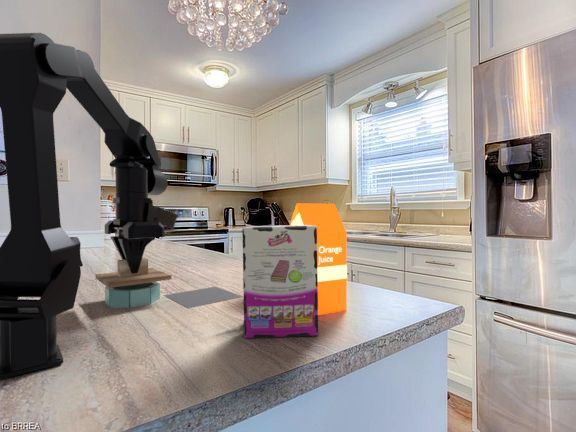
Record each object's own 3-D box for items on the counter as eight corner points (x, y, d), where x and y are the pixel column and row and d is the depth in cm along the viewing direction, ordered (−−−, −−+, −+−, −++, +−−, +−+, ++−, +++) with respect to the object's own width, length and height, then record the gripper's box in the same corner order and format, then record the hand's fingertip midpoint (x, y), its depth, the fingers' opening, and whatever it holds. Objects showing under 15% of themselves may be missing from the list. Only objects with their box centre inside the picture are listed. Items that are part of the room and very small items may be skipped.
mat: (243, 301, 68) (243, 296, 68) (187, 313, 60) (187, 308, 60) (215, 290, 77) (215, 286, 77) (163, 300, 69) (163, 295, 69)
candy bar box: (314, 325, 54) (313, 224, 53) (319, 337, 49) (318, 225, 48) (244, 327, 53) (244, 224, 53) (242, 339, 48) (242, 226, 48)
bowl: (165, 306, 64) (164, 285, 64) (113, 316, 58) (113, 293, 58) (149, 296, 71) (149, 278, 71) (101, 304, 65) (101, 284, 65)
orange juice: (286, 306, 64) (286, 203, 64) (324, 300, 68) (324, 204, 68) (307, 317, 57) (306, 202, 57) (347, 310, 61) (347, 203, 61)
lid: (171, 279, 64) (171, 259, 64) (108, 288, 57) (108, 266, 57) (152, 271, 73) (152, 254, 73) (95, 278, 66) (95, 259, 65)
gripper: (191, 192, 63) (191, 273, 63) (157, 196, 77) (157, 262, 77) (128, 189, 56) (129, 282, 56) (103, 194, 70) (104, 268, 70)
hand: (132, 272), depth 65 cm, fingers closed on lid, 2 cm apart
